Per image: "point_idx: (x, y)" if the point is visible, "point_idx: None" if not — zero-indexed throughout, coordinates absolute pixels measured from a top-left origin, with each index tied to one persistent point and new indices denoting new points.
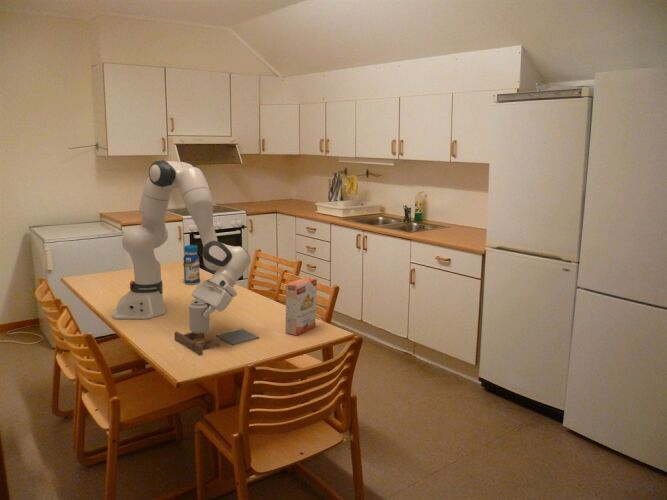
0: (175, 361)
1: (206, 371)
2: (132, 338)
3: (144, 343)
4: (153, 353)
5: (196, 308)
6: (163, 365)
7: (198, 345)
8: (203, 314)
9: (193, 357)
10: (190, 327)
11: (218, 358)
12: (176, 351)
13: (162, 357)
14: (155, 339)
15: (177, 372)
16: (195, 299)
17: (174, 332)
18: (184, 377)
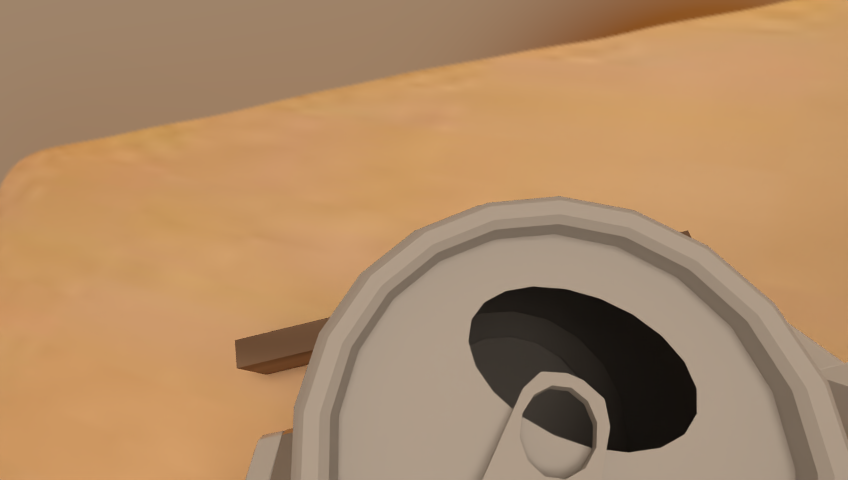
0: (253, 185)
1: (4, 317)
2: (768, 15)
3: (643, 68)
4: (441, 95)
5: (340, 309)
6: (236, 120)
7: (277, 342)
8: (270, 436)
9: (251, 299)
10: (482, 306)
11: (132, 462)
12: (411, 220)
13: (353, 131)
14: (706, 134)
15: (104, 169)
16: (794, 377)
17: (684, 231)
18: (23, 189)
